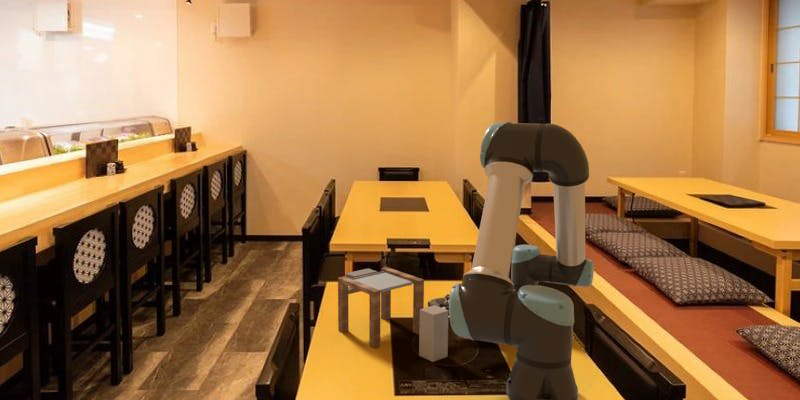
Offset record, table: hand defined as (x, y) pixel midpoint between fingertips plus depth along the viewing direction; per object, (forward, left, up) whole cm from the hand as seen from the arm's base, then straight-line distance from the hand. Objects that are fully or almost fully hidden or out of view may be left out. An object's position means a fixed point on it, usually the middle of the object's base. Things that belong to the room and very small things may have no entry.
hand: (445, 325), depth 159 cm
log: (+24, -24, -8) cm, 35 cm away
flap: (+23, +4, +6) cm, 24 cm away
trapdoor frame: (+20, +4, -7) cm, 22 cm away
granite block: (-1, +4, -7) cm, 8 cm away
